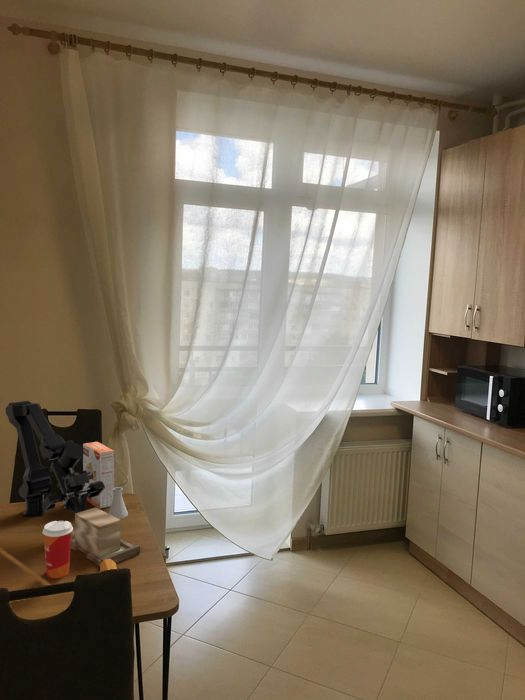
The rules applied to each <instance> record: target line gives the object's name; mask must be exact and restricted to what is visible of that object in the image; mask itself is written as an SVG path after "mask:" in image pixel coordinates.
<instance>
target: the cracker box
mask: <svg viewBox="0 0 525 700" xmlns="http://www.w3.org/2000/svg"><path fill="white" fill-rule="evenodd" d="M82 448H83V450H84V453H83V456H82V465H83V466H82V467H83V468H82V470H83V471H85V470H88V469H91V471H92V472H93V476H94V478H93V479H90V482H89V483H85V486H84V487H83V488H82V489H86V488H88V486H89V485H90V484H91V483H94V482H97V481H102V482H103V483H104V485H105V488H104V489H103V491H102V492H101V493H100V494H99V495H98V496H96V497H93V498H87V501H86V502H88V503H89V504H91V505H92V506H93V508H95V507H96V508H98V509H100V510H101V509H105V508H108V507H109V508H110V507H111V504H112V501H113V496H114V491H113V488H115V450H113V449H111V448H110V447H107V446H106V445H104V444H103V443H101V442H99V441H94V442H86V443H83V444H82ZM83 471H82V472H83Z"/></svg>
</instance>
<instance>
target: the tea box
mask: <svg viewBox="0 0 525 700" xmlns="http://www.w3.org/2000/svg"><path fill="white" fill-rule="evenodd" d="M108 513H109V512H108ZM108 513H107V512H106V511H103V510H102V509H101V508H100V509H99V508H98V507H93V508H89V509H86V511H82V512H79V513H76V514H74V531H75V543H76V544H78V545H79V546H81V547H83V548H84V549H86V550H88V551H89V552H91V553H93V554H94V555H96V556H98V557H99V558H100V557H102V556H105V555H108V554H110V553H113V552H115V551H118V550H120V539H121V526H122V525H121V523H122V522H121V521H122V520H121V519H118V518H116V517H114V516H112V515H110V514H108Z"/></svg>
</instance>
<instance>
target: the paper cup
mask: <svg viewBox="0 0 525 700" xmlns="http://www.w3.org/2000/svg"><path fill="white" fill-rule="evenodd" d="M73 531H74V527H73V525H72V523H71V522H70V521H68V520H65V521H64V520H58V521H57V520H54V521H53V520H52V521H50V522H48V523H46V524H45V525H44V526H43V530H42V531H41V532H42V533H41V534H42V535H43V542H44V544H43V545H44V557H45V558H44V559H45V570H46V571H45V572H46V576H47V577H48V578H50V579H61V578H63V577H65V576H67V575H69V573H70V566H71V564H70V563H71V550H72V549H71V535H72V532H73Z"/></svg>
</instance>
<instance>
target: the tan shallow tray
mask: <svg viewBox="0 0 525 700" xmlns="http://www.w3.org/2000/svg"><path fill="white" fill-rule="evenodd" d="M71 550H72V551H74V552H76V551H80V552H82V553H83V554H85V555H86V559H87V560H89V561H90V562H93V563H94V564H96V565H97V566H98V567H100V564H101V563H102V562H103V561H104V560H105V559H111V560H112V561H114V562H115V563H116V564H118V563H119V562H121V561H125V560H127V559H129V558H132V557H134V556H136V555H139V554H141V545H139V544H135V545H134V544H131V543H129V542H127V541H126V540H124V539H122V538H120V550H118V551H115V552H113V553H110V554H108V555H105V556H102V557H100V558H99V557H98V556H96V555H94V554H93V553H91V552H89V551H88V550H86V549H84V548H83V547H81V546H79V545H78V544H76V543H75V530H73V531H72V535H71Z"/></svg>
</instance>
